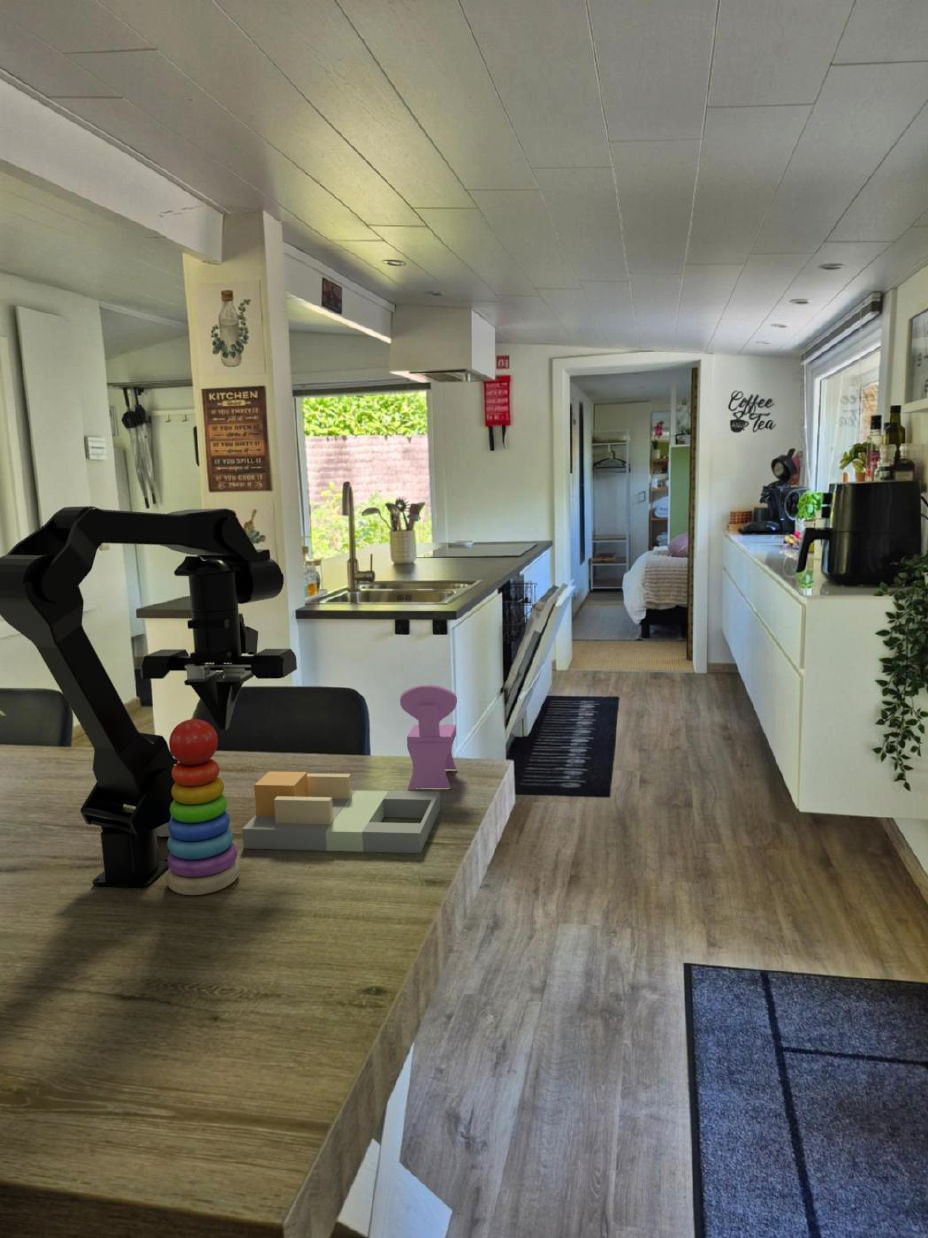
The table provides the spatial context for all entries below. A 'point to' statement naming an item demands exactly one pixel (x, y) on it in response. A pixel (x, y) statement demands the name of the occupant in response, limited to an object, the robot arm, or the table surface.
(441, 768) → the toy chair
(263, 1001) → the table surface
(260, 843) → the tunnel board
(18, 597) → the robot arm
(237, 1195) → the table surface
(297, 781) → the block
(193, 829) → the stacking toy
